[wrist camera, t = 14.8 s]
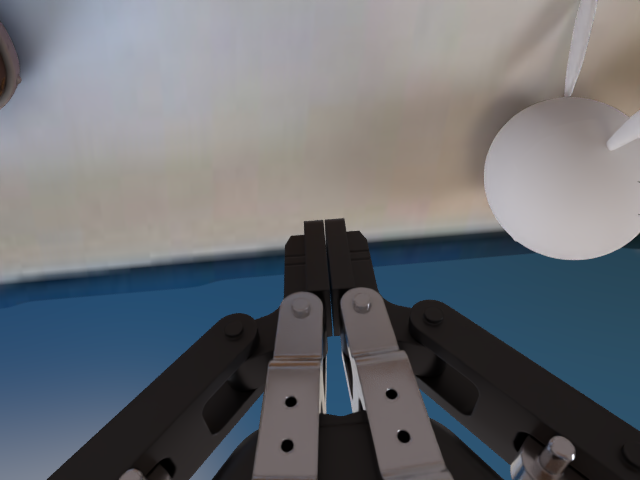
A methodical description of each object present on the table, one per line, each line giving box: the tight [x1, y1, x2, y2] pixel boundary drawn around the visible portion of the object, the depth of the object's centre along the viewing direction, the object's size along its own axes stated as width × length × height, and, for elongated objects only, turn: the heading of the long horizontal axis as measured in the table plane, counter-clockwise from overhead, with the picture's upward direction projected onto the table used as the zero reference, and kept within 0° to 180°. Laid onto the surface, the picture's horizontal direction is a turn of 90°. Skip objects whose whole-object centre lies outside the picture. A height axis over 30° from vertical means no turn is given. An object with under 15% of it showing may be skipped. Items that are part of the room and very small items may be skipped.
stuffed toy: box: [484, 0, 640, 260], centre depth 37 cm, size 19×14×25 cm
